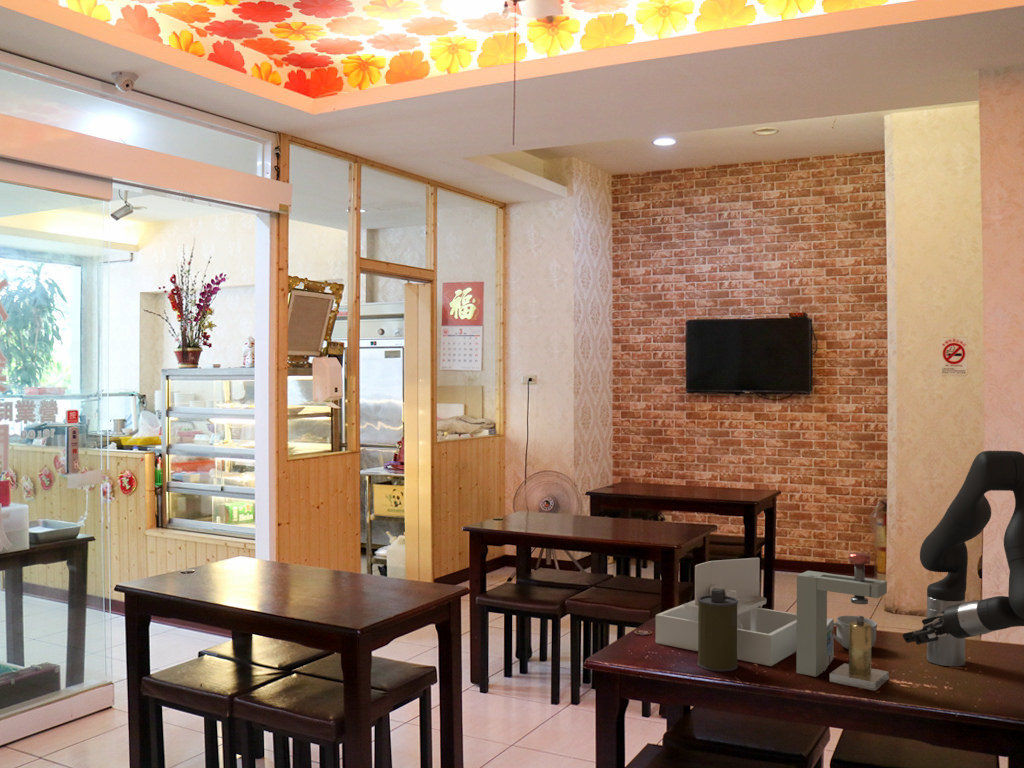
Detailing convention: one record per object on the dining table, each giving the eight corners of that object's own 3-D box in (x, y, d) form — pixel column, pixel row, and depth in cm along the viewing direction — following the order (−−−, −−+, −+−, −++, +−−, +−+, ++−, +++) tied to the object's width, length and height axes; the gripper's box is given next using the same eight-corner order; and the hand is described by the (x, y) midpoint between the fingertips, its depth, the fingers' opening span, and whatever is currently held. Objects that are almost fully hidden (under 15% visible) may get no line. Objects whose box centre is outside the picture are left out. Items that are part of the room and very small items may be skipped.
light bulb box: (827, 668, 236) (827, 626, 236) (800, 664, 239) (800, 623, 239) (834, 657, 245) (834, 618, 245) (808, 654, 248) (808, 614, 248)
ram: (852, 599, 229) (852, 551, 229) (872, 602, 226) (873, 554, 226) (846, 602, 225) (846, 554, 225) (866, 605, 222) (866, 556, 222)
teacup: (868, 643, 259) (868, 615, 260) (883, 654, 249) (883, 625, 249) (819, 642, 260) (820, 614, 260) (832, 653, 249) (832, 624, 249)
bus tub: (699, 624, 280) (699, 598, 280) (808, 643, 258) (809, 615, 258) (655, 642, 258) (655, 614, 258) (771, 666, 237) (771, 635, 237)
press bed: (844, 671, 233) (844, 663, 233) (888, 679, 226) (888, 671, 226) (829, 681, 224) (829, 673, 225) (875, 690, 218) (875, 682, 218)
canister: (734, 673, 230) (735, 595, 230) (694, 668, 234) (694, 591, 234) (740, 661, 240) (740, 586, 241) (701, 657, 244) (701, 583, 244)
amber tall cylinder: (852, 667, 229) (853, 612, 229) (873, 672, 226) (874, 616, 226) (845, 672, 225) (846, 616, 225) (867, 677, 222) (867, 620, 222)
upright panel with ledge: (740, 662, 241) (740, 575, 241) (672, 647, 255) (672, 564, 256) (786, 641, 262) (786, 560, 262) (720, 628, 276) (720, 552, 276)
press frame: (807, 665, 238) (808, 570, 238) (886, 681, 225) (887, 580, 225) (796, 672, 231) (796, 575, 231) (877, 689, 219) (877, 586, 219)
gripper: (978, 591, 211) (922, 605, 224) (946, 615, 203) (890, 628, 216) (995, 621, 210) (938, 633, 223) (963, 647, 202) (906, 658, 215)
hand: (914, 631), depth 219 cm, fingers open, 8 cm apart
